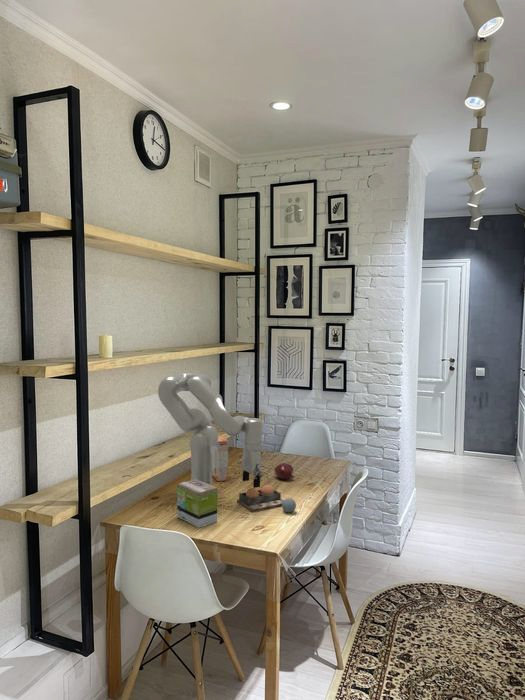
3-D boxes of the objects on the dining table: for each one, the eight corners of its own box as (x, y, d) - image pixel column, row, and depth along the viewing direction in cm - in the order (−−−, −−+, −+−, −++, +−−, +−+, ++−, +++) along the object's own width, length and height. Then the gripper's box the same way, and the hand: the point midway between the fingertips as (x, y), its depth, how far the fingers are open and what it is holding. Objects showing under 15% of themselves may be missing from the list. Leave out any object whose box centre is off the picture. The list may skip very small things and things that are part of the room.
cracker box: (228, 480, 269) (228, 440, 268) (216, 482, 267) (217, 441, 265) (220, 473, 282) (220, 434, 281) (209, 474, 280) (209, 435, 278)
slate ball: (286, 515, 223) (287, 501, 223) (279, 511, 228) (279, 497, 228) (298, 513, 226) (298, 499, 226) (290, 508, 231) (290, 495, 231)
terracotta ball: (249, 504, 232) (250, 491, 232) (243, 500, 237) (243, 487, 237) (261, 502, 235) (261, 489, 235) (254, 498, 240) (255, 485, 240)
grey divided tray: (252, 512, 226) (252, 502, 226) (237, 502, 238) (237, 493, 238) (287, 505, 235) (287, 496, 235) (270, 495, 247) (271, 487, 247)
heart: (271, 479, 269) (290, 483, 268) (274, 464, 269) (293, 468, 268) (274, 473, 281) (292, 476, 280) (276, 459, 281) (294, 462, 280)
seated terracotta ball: (265, 501, 236) (265, 488, 236) (258, 497, 241) (258, 484, 241) (276, 499, 239) (276, 486, 239) (269, 495, 245) (269, 482, 244)
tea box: (176, 517, 219) (176, 482, 218) (195, 511, 226) (195, 477, 225) (198, 528, 208) (198, 492, 207) (218, 522, 215) (218, 486, 214)
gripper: (236, 442, 240) (234, 479, 241) (255, 451, 225) (253, 491, 227) (250, 441, 244) (248, 477, 245) (270, 450, 229) (268, 488, 231)
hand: (251, 483), depth 236 cm, fingers open, 9 cm apart
